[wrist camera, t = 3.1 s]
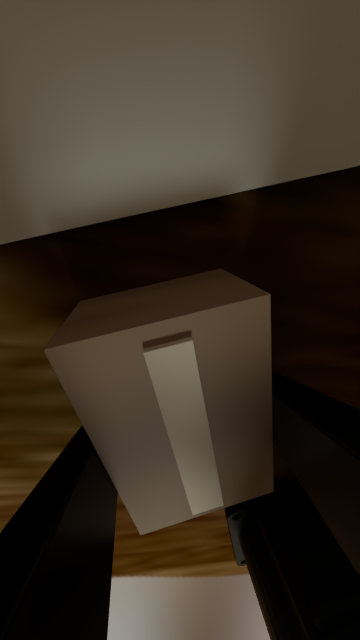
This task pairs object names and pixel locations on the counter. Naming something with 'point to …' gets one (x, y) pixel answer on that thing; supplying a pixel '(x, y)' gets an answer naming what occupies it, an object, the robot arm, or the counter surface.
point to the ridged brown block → (174, 392)
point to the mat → (168, 103)
